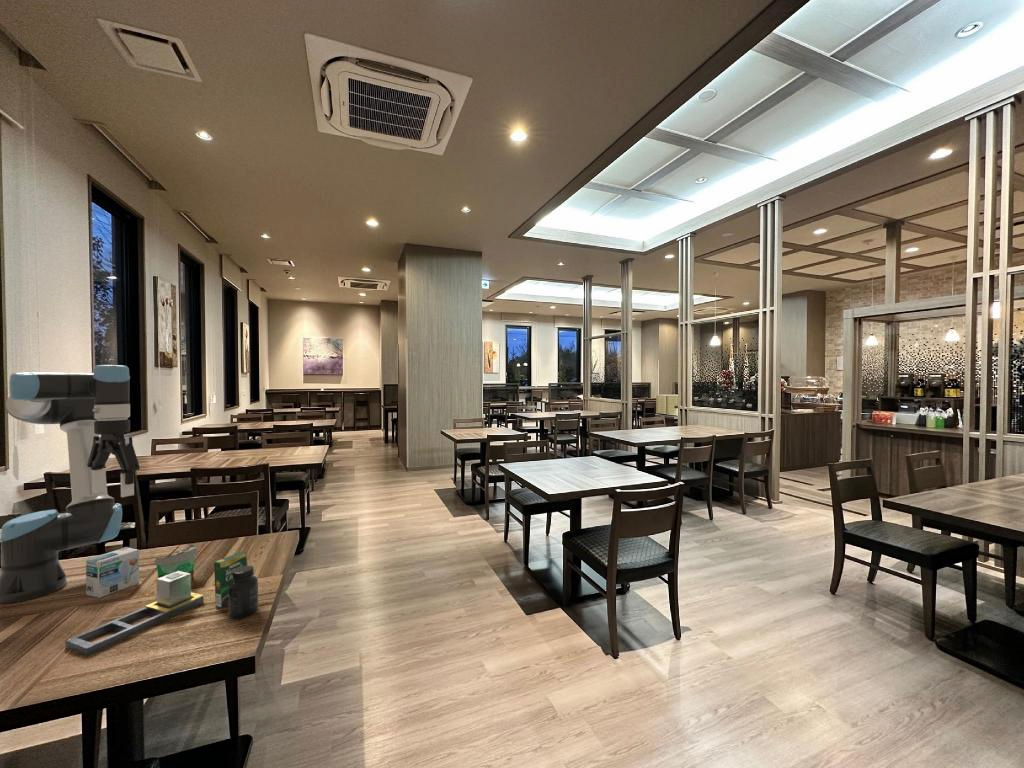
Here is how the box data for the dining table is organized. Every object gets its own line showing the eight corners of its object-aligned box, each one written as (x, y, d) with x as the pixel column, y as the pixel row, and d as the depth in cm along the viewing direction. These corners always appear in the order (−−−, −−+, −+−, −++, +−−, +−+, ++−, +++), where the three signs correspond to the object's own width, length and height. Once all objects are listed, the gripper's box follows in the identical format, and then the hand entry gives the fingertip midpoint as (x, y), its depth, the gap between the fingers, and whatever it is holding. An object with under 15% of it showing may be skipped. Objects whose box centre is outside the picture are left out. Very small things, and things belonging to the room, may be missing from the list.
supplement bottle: (254, 604, 122) (253, 561, 122) (261, 612, 117) (261, 568, 117) (225, 613, 117) (225, 569, 117) (232, 623, 112) (232, 577, 112)
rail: (65, 647, 102) (65, 639, 102) (183, 597, 126) (183, 590, 126) (86, 656, 99) (86, 647, 99) (203, 602, 123) (203, 595, 123)
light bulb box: (99, 598, 126) (98, 562, 126) (84, 595, 128) (84, 559, 129) (140, 582, 136) (140, 548, 136) (126, 579, 139) (126, 546, 139)
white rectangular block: (157, 611, 119) (156, 578, 119) (178, 602, 124) (178, 570, 124) (169, 615, 117) (169, 581, 117) (191, 605, 122) (190, 573, 122)
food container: (171, 592, 129) (170, 559, 129) (154, 591, 130) (154, 558, 130) (207, 575, 141) (207, 544, 141) (192, 573, 143) (191, 543, 143)
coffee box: (220, 610, 119) (220, 562, 119) (214, 608, 120) (213, 561, 120) (248, 596, 126) (248, 552, 126) (242, 594, 127) (241, 550, 127)
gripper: (70, 419, 123) (71, 493, 123) (122, 421, 114) (123, 501, 114) (103, 417, 130) (104, 487, 130) (154, 419, 121) (155, 494, 121)
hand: (113, 494), depth 122 cm, fingers open, 13 cm apart
